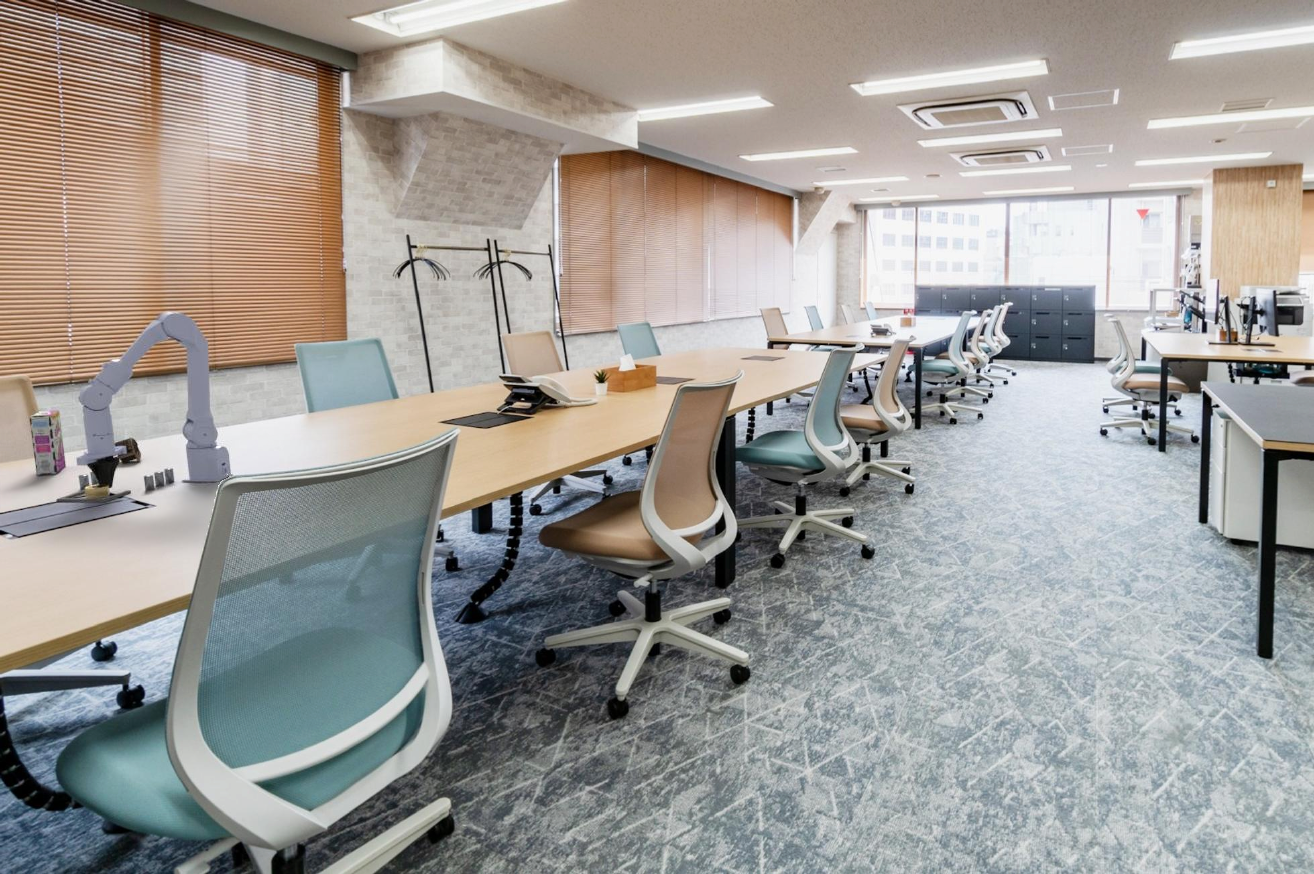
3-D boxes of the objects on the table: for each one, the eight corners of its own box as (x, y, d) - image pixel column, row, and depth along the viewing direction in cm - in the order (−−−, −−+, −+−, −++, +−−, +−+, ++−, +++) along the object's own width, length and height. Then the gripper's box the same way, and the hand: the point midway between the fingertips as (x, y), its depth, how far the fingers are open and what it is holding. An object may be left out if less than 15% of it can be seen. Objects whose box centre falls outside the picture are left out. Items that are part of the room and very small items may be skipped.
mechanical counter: (129, 447, 234) (147, 434, 243) (82, 444, 233) (101, 431, 242) (133, 470, 237) (150, 456, 246) (86, 467, 236) (105, 453, 245)
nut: (110, 492, 205) (109, 483, 204) (107, 497, 200) (106, 487, 200) (88, 494, 203) (86, 485, 202) (85, 499, 198) (83, 489, 198)
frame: (130, 492, 205) (130, 490, 204) (105, 502, 196) (104, 499, 196) (84, 492, 205) (84, 489, 205) (56, 501, 196) (56, 499, 196)
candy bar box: (58, 474, 225) (50, 415, 222) (36, 476, 223) (27, 416, 220) (67, 466, 235) (59, 409, 232) (46, 468, 233) (38, 410, 230)
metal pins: (176, 481, 217) (174, 468, 216) (151, 490, 207) (149, 476, 206) (106, 480, 218) (104, 467, 217) (78, 489, 208) (76, 476, 207)
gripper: (104, 428, 209) (111, 480, 212) (61, 439, 195) (69, 495, 198) (131, 429, 209) (138, 481, 211) (90, 439, 195) (97, 495, 197)
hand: (106, 488), depth 204 cm, fingers closed
